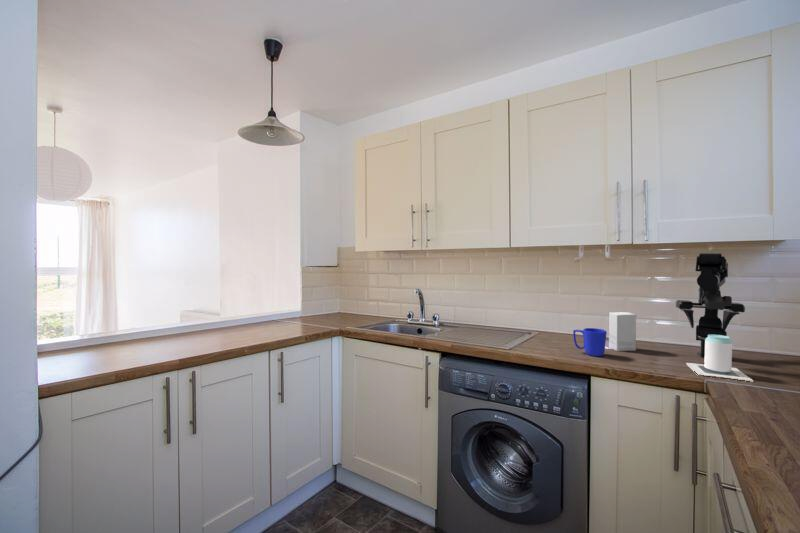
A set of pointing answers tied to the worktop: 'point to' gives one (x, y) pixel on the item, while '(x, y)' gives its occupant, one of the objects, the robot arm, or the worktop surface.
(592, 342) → the mug
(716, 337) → the can
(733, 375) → the dock
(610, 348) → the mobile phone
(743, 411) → the worktop surface
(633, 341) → the skincare box
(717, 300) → the robot arm
